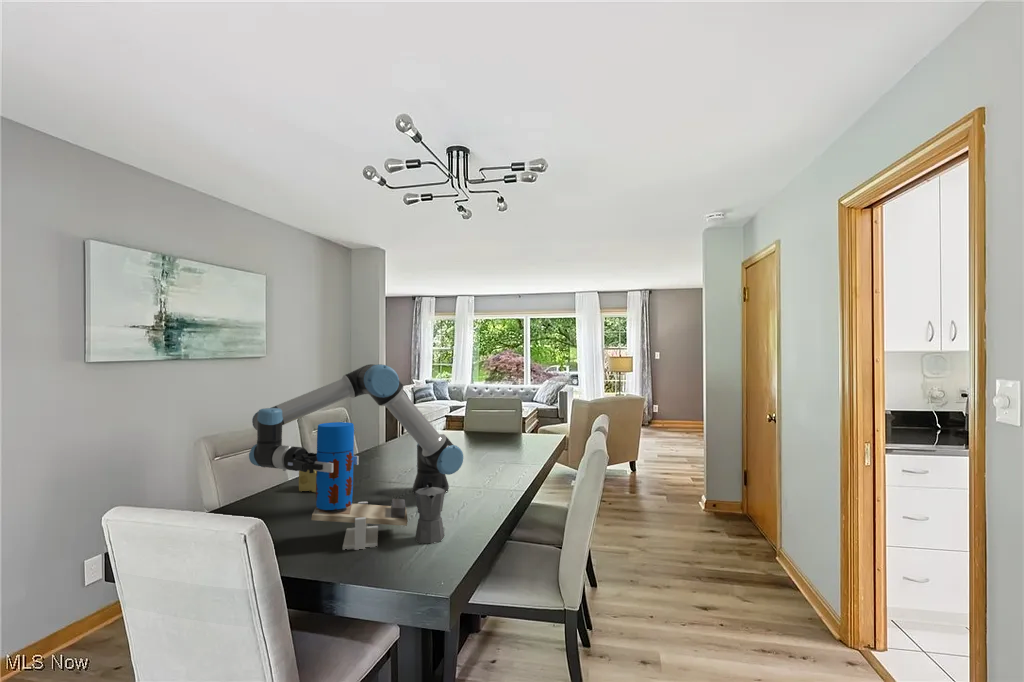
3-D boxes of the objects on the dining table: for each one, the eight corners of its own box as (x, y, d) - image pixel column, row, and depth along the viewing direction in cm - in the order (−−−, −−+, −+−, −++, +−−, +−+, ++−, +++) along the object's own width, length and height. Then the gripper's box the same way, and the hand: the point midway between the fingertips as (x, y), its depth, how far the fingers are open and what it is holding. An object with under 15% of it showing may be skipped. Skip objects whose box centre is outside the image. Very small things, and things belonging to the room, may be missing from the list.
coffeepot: (446, 545, 151) (447, 485, 152) (415, 547, 149) (415, 487, 150) (442, 528, 166) (442, 474, 167) (413, 530, 164) (414, 475, 165)
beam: (405, 511, 167) (407, 498, 167) (406, 525, 153) (409, 510, 153) (317, 506, 160) (319, 491, 160) (311, 520, 146) (313, 504, 147)
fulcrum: (378, 527, 166) (378, 500, 167) (377, 548, 149) (377, 517, 149) (347, 530, 164) (347, 502, 164) (342, 551, 146) (342, 520, 147)
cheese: (319, 493, 208) (320, 469, 208) (297, 491, 210) (297, 468, 210) (333, 486, 218) (333, 463, 218) (311, 485, 220) (312, 462, 220)
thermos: (359, 501, 158) (361, 423, 159) (337, 511, 148) (339, 427, 149) (331, 498, 162) (333, 421, 162) (307, 507, 151) (309, 425, 152)
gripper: (317, 462, 172) (369, 468, 164) (261, 477, 151) (317, 485, 143) (317, 441, 173) (369, 445, 164) (261, 453, 151) (318, 459, 143)
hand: (345, 464), depth 154 cm, fingers closed on thermos, 11 cm apart
